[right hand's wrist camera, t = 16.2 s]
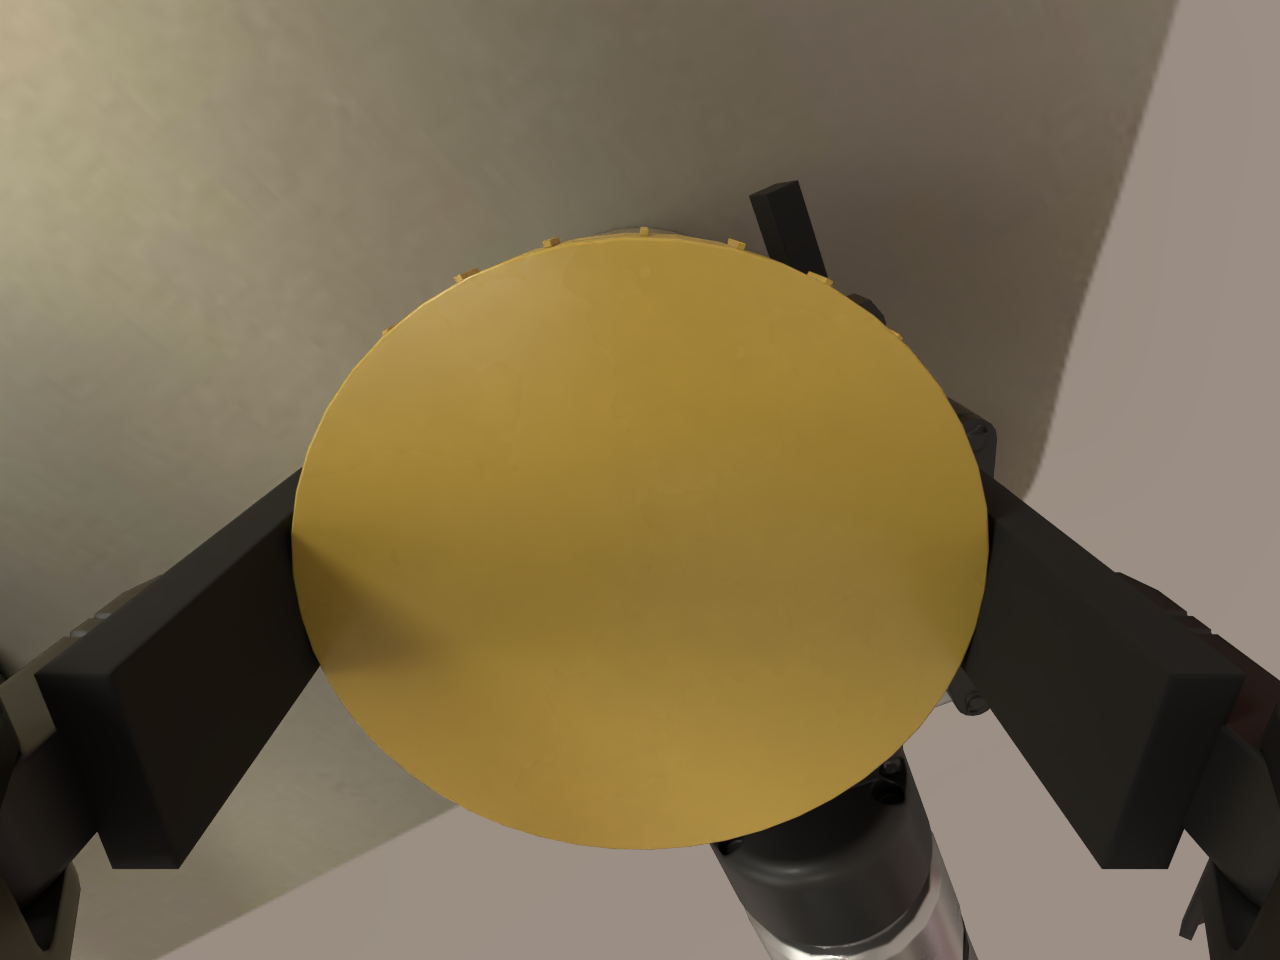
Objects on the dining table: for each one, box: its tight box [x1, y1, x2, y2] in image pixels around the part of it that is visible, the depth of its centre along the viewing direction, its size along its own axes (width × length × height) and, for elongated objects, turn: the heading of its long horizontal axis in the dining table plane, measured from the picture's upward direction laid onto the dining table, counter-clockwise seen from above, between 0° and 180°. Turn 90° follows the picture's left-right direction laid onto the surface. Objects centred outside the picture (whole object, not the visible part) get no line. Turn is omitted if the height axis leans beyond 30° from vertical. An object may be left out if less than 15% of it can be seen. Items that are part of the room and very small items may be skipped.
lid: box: [291, 227, 989, 850], centre depth 11 cm, size 11×11×2 cm
